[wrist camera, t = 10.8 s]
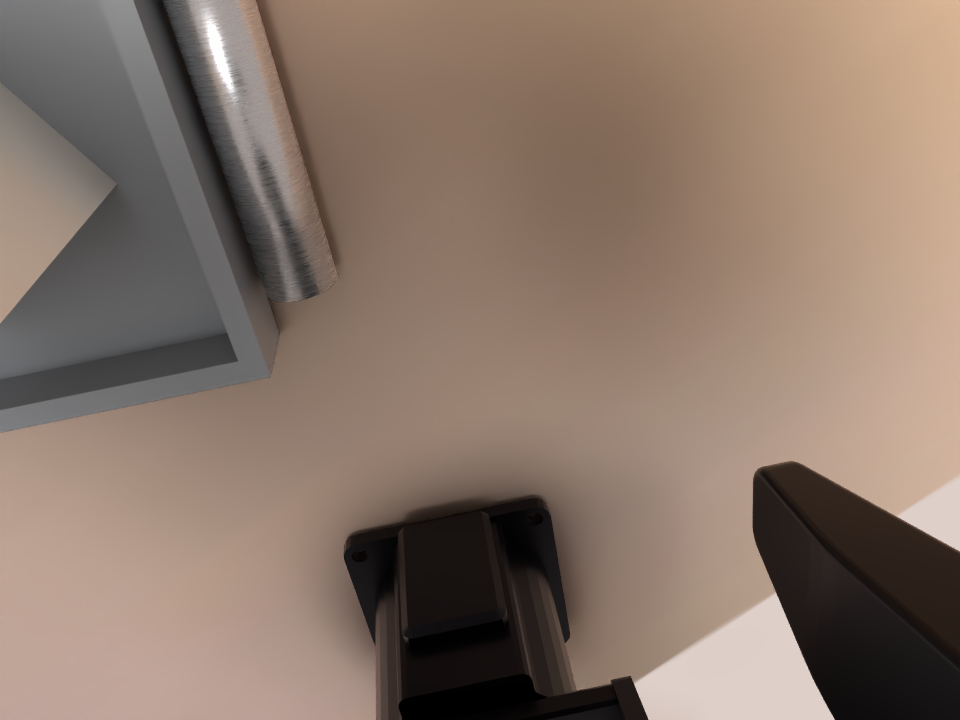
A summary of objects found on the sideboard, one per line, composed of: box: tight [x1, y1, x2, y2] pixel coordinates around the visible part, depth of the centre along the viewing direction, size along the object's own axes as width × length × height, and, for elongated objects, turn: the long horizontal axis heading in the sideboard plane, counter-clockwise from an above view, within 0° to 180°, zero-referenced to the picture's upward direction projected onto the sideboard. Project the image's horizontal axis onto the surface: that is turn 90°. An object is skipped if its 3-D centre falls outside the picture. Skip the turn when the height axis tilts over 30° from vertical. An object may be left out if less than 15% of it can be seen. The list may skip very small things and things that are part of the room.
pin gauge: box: [162, 0, 338, 302], centre depth 17 cm, size 10×2×2 cm
